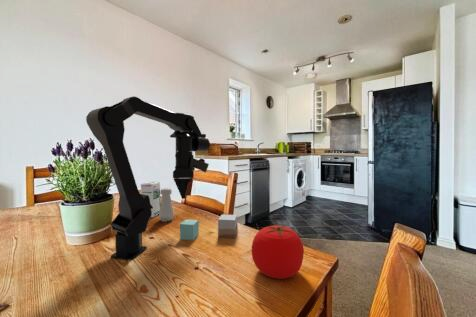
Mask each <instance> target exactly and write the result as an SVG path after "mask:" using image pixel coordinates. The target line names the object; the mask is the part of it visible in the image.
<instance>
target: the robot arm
mask: <svg viewBox="0 0 476 317" xmlns="http://www.w3.org/2000/svg"><path fill="white" fill-rule="evenodd" d="M134 115H136V116H139V117H143V118H147V119H148V120H152V121H155V122H158V123H161V124H164V125H166V126H168V127H169V129H170V130H173V133H171V134H170V135H169V137H170V138H174V139H175V155H174V157H175V166H174V170H173V172H172V179H173V181H174V183H175V186H176V188H177V190H178V192H179V194H180V197H181V199H184V200H185V199H186V197H187V192H188V187H189V183H190V182H192V180H193V179H194V176H195V174H194V172H195V171H194V169H196V170H200V171H201V172H204V173H207V170H208V168H209V163H208V162H206V161H205V159H203V158H199V159H196V158H194V154H193V152H203V153H205V152H208V151H209V149H210V147H211V142H210V139H208V138H209V137H207V134H205V133H202V132H201V129H200V128H199V126H198V124H197V122H196V120H195V117H194V116H193V115H192V114H191V113H190V114H189V113H185V112H184V113H181V112H174V111H171V110H168V109H165V108H163V107H160V106H158V105H155V104H153V103H150V102H148V101H145V100H143V99H141V98H139V97H138V96H130V97H126V98H123V99H122V101H120V102H116V103H115V104H113V105H110V106H108V105H107V106H106V105H105V106H103V107H100V108H96V109H92V110H90V112H88V114H87V115H86V117H85V121H86V124H87V126H88V128H89V130H90V131H91V133H92V134H93V136H94V138H96V140H97V141H98V142H99V143H100V144H101V146H102V148H103V151H104V153H105V157H106V160H107V163H108V165H109V169H110V171H111V174H112V177H113V180H114V183H115V186H116V189H117V192H118V195H119V200H118V205H117V207H118V214H117V215H116V217H115V218H113V220H112V221H110V224H109V225H110V227H111V229H112V230H113V231H115V232H116V234H115V252H114V253H112V254H111V255H110V258H111V259H112V258H113V259H123V260H133V259H135V258H136V257H138V256H139V255H140V254H141V253H143V252H144V251H146V249H147V248H148V247H147V246H145V245H144V246H143V233H145V232H146V231H147V226H148V224H149V220H150V219H151V217H150V216H151V215H152V212H151V209H153V207H152V206H151V204H150V198H149V196H148V195H144V194H141V192H140V191H139V188H138V186H137V183H136V179H135V176H134V173H133V170H132V166H131V164H130V159H129V157H128V153H127V151H126V146H125V144H124V137H125V129H126V128H125V122H124V121H126V120H128V119H130V118H131V117H132V116H134Z"/></svg>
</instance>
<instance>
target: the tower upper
mask: <svg viewBox="0 0 476 317" xmlns="http://www.w3.org/2000/svg"><path fill="white" fill-rule="evenodd" d="M237 224H238V214H221V215H220V216H219V217H218V219H217V230H218V229H235V228H236V225H237Z"/></svg>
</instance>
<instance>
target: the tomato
mask: <svg viewBox="0 0 476 317" xmlns="http://www.w3.org/2000/svg"><path fill="white" fill-rule="evenodd" d="M304 249H305V248H304V244H303V241H302V240H301V237H300V236H299V234H298V233H297V232H296V231H294V229H292V228H290V227H287V226H285V225H280V224H278V225H277V224H276V225H269V226H268V225H267V226H265V227H263V228H261V229H259V230H258V232H257V233H256V234H255V236H254V237H253V239H252V245H251V257H252V260H253V262H254V265H255V266H256V268H257V269H258V270H259V272H261V274H264V275H265V276H267V277H268V278H269V277H270V278H272V279H277V280H280V279H281V280H283V279H288V278H291V277H293V276H295V275H296V274H297V273H298V272H299V271H300V270H301V267H302V264H303V260H304V251H305V250H304Z"/></svg>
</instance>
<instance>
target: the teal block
mask: <svg viewBox="0 0 476 317" xmlns="http://www.w3.org/2000/svg"><path fill="white" fill-rule="evenodd" d="M199 222H200V221H199V219H185V220H183V221H182V222H181V223H179V239H180V240H185V241H195V239H196V238H197V237H198V236H199V235H200V230H199V227H200V226H199V225H200V223H199Z"/></svg>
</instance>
